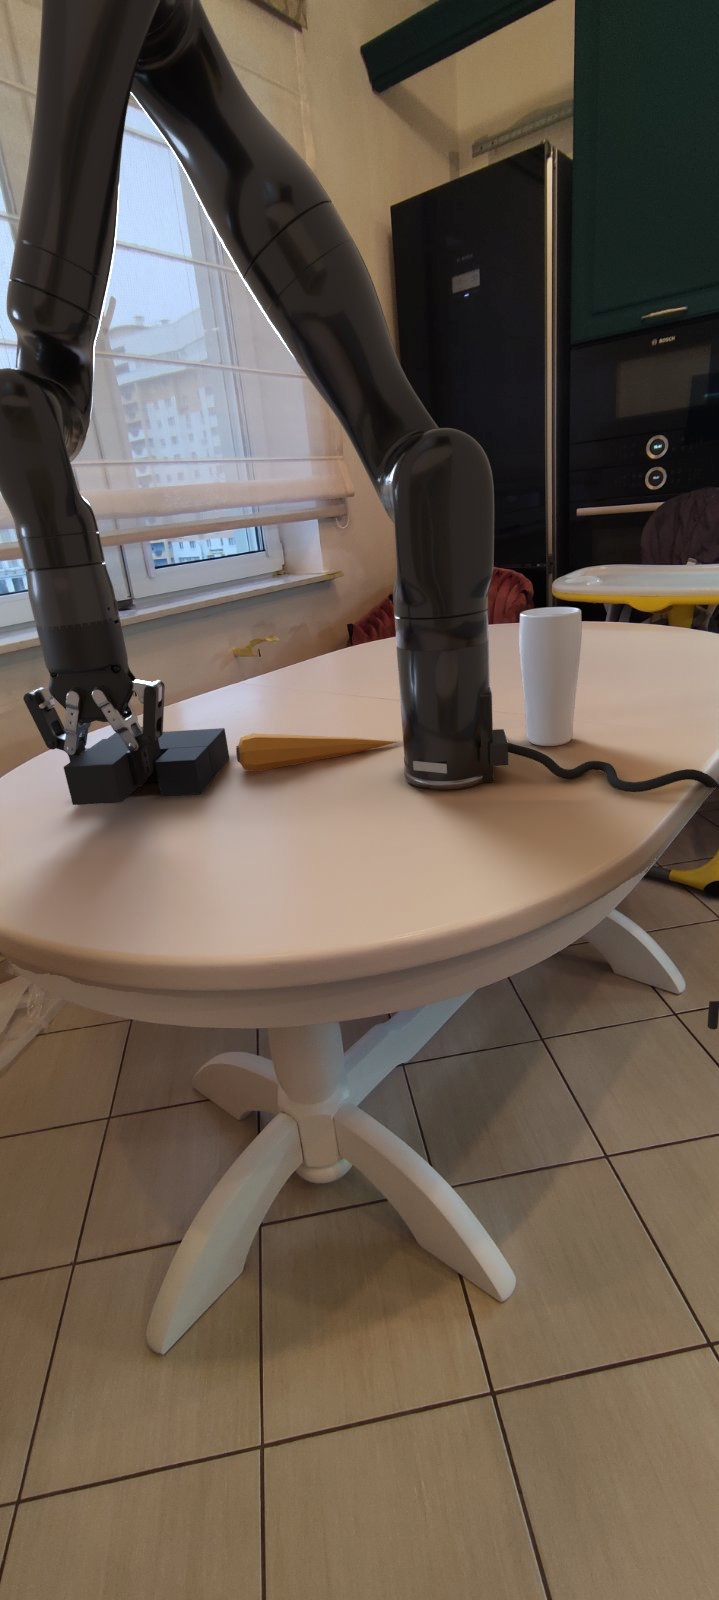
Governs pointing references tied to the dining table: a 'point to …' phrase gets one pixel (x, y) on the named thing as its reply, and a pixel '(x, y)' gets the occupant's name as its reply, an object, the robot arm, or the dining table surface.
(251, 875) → the dining table surface
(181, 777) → the dark grey u-shaped block
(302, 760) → the carrot
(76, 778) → the black rectangular block
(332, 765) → the dining table surface
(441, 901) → the dining table surface
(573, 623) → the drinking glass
